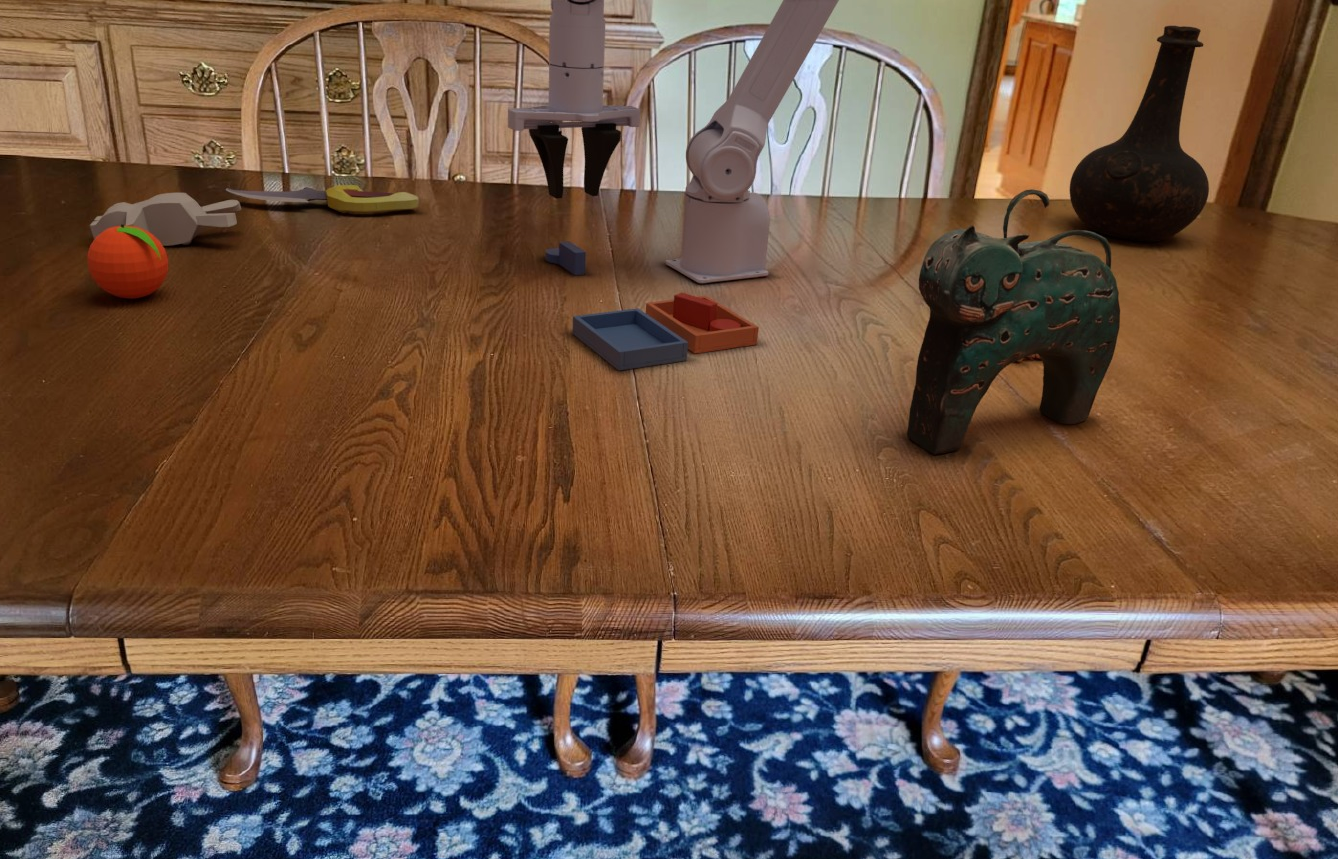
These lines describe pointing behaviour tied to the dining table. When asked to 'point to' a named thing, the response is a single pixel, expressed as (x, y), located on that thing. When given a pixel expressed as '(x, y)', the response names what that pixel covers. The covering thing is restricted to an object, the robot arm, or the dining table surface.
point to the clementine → (127, 262)
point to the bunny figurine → (168, 217)
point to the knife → (341, 198)
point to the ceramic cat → (1010, 326)
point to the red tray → (702, 338)
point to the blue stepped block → (568, 257)
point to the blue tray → (629, 339)
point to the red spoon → (700, 313)
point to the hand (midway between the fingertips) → (573, 195)
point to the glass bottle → (1147, 159)
